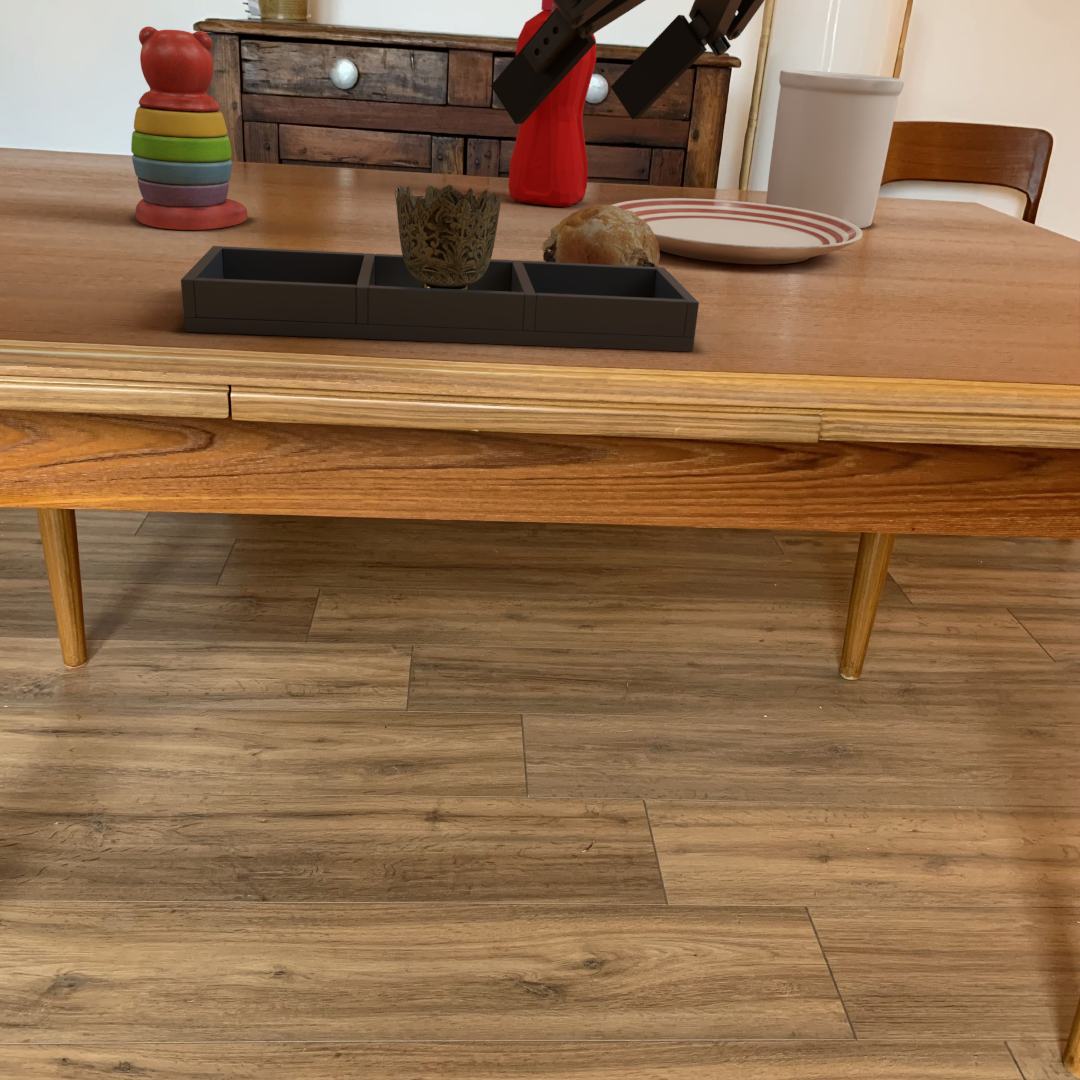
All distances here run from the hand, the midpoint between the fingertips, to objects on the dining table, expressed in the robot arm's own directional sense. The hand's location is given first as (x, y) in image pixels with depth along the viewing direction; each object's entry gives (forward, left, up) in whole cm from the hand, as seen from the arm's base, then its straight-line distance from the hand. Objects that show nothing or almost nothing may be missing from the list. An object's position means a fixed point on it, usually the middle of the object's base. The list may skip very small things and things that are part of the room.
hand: (569, 104), depth 69 cm
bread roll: (+12, +24, -16) cm, 31 cm away
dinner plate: (+32, +38, -16) cm, 52 cm away
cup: (-6, +7, -15) cm, 17 cm away
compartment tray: (-6, +8, -16) cm, 18 cm away
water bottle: (+21, +68, -16) cm, 72 cm away
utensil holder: (+55, +58, -16) cm, 81 cm away
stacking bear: (-23, +49, -16) cm, 56 cm away
